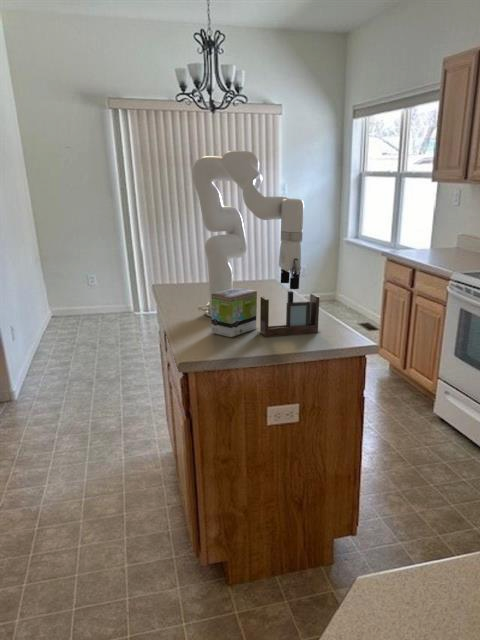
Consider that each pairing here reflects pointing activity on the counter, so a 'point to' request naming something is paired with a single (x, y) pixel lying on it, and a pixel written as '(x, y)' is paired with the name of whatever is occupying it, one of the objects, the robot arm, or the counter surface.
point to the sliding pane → (297, 312)
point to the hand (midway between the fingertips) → (289, 286)
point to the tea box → (234, 311)
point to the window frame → (283, 329)
